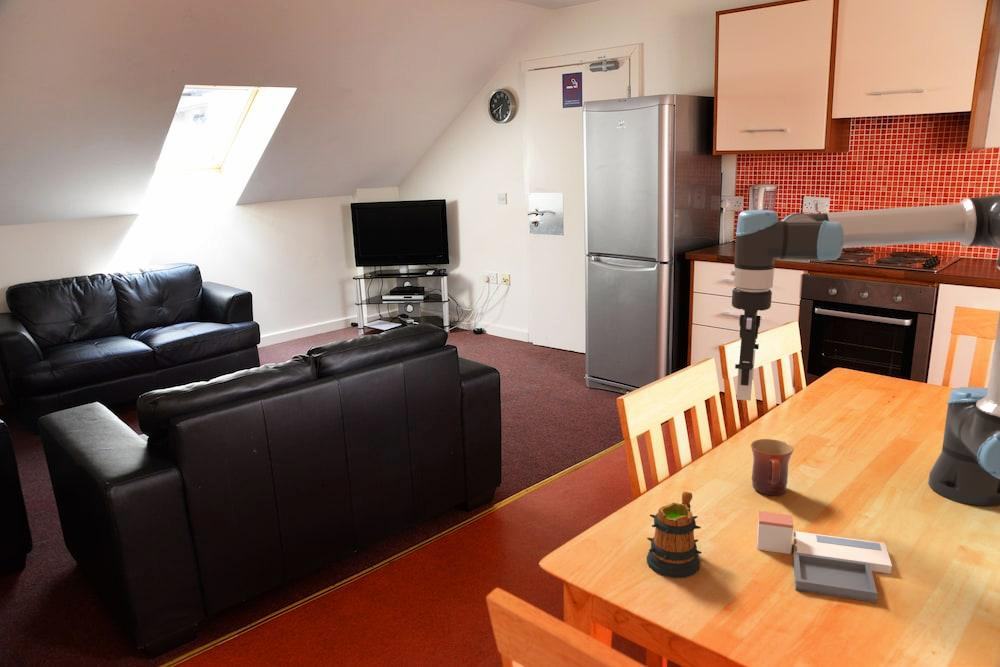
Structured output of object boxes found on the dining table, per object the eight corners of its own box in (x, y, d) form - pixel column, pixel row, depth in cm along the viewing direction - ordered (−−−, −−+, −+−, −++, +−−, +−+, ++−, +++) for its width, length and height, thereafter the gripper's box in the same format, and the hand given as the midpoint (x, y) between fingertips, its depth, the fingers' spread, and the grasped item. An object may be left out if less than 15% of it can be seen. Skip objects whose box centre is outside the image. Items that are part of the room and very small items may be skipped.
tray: (868, 571, 134) (869, 562, 133) (876, 602, 125) (877, 593, 124) (793, 560, 138) (793, 552, 137) (795, 590, 129) (796, 580, 128)
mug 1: (691, 585, 131) (694, 525, 128) (636, 569, 136) (638, 511, 133) (712, 550, 142) (716, 495, 139) (661, 537, 147) (663, 483, 144)
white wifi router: (884, 550, 140) (885, 542, 140) (890, 573, 133) (892, 565, 132) (793, 538, 145) (793, 530, 145) (794, 559, 138) (795, 551, 137)
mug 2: (745, 479, 170) (748, 437, 168) (786, 482, 169) (789, 440, 166) (752, 504, 159) (755, 459, 156) (795, 507, 157) (799, 462, 155)
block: (790, 543, 143) (792, 515, 142) (790, 554, 140) (793, 525, 138) (757, 539, 145) (759, 511, 144) (757, 549, 142) (759, 521, 140)
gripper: (736, 276, 162) (730, 369, 167) (728, 299, 139) (721, 406, 145) (772, 278, 159) (765, 372, 165) (771, 302, 137) (762, 411, 142)
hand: (745, 389), depth 155 cm, fingers open, 13 cm apart
